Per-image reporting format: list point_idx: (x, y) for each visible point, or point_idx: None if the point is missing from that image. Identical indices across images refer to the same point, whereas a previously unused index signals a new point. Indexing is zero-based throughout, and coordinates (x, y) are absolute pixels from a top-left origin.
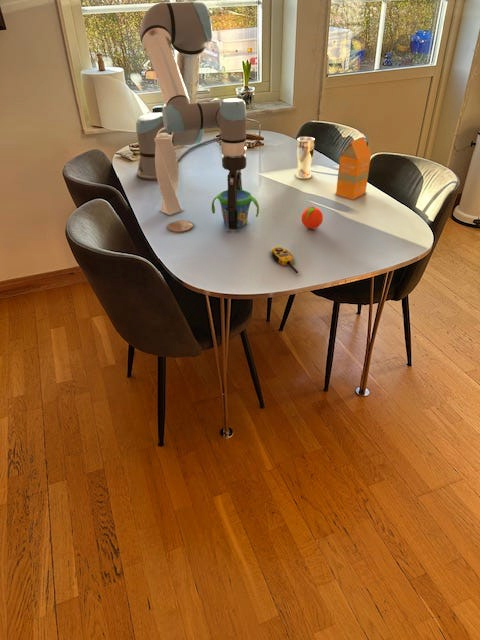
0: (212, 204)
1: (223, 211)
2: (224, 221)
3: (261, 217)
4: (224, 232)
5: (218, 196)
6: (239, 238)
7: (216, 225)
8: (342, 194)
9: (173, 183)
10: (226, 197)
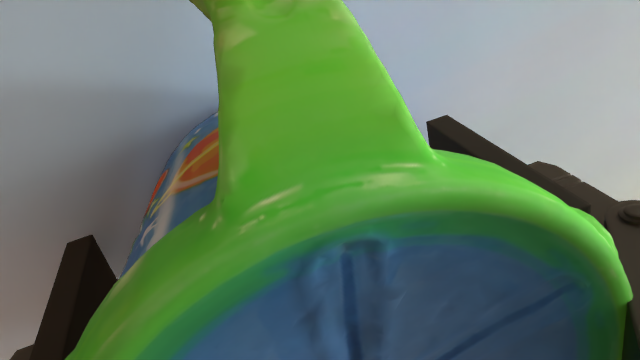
0: (196, 1)
1: (151, 216)
2: (184, 143)
3: None
4: (42, 188)
5: (249, 203)
6: (4, 357)
7: (163, 28)
8: None
9: None
10: (282, 347)
